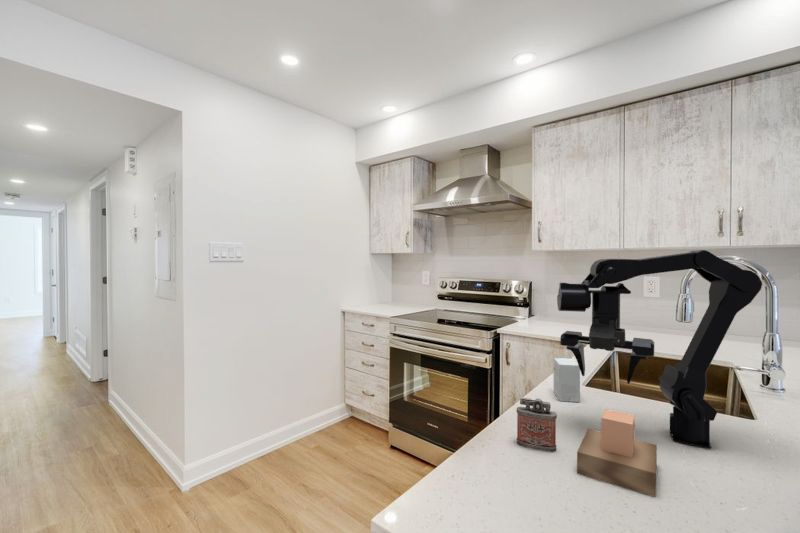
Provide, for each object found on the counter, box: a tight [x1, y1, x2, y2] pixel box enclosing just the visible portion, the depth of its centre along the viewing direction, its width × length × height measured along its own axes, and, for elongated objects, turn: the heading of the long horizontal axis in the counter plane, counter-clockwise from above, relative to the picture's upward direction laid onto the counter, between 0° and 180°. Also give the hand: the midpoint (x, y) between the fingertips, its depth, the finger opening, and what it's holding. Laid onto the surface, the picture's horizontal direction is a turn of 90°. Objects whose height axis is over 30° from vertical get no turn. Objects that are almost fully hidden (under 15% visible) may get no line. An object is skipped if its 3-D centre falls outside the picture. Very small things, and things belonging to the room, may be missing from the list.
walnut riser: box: [576, 428, 658, 498], centre depth 70 cm, size 12×12×4 cm
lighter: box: [515, 396, 558, 453], centre depth 79 cm, size 8×3×10 cm, turn 65°
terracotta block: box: [600, 409, 635, 458], centre depth 70 cm, size 5×5×6 cm
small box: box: [552, 357, 581, 403], centre depth 107 cm, size 8×6×10 cm
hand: (605, 379), depth 86 cm, fingers open, 9 cm apart
